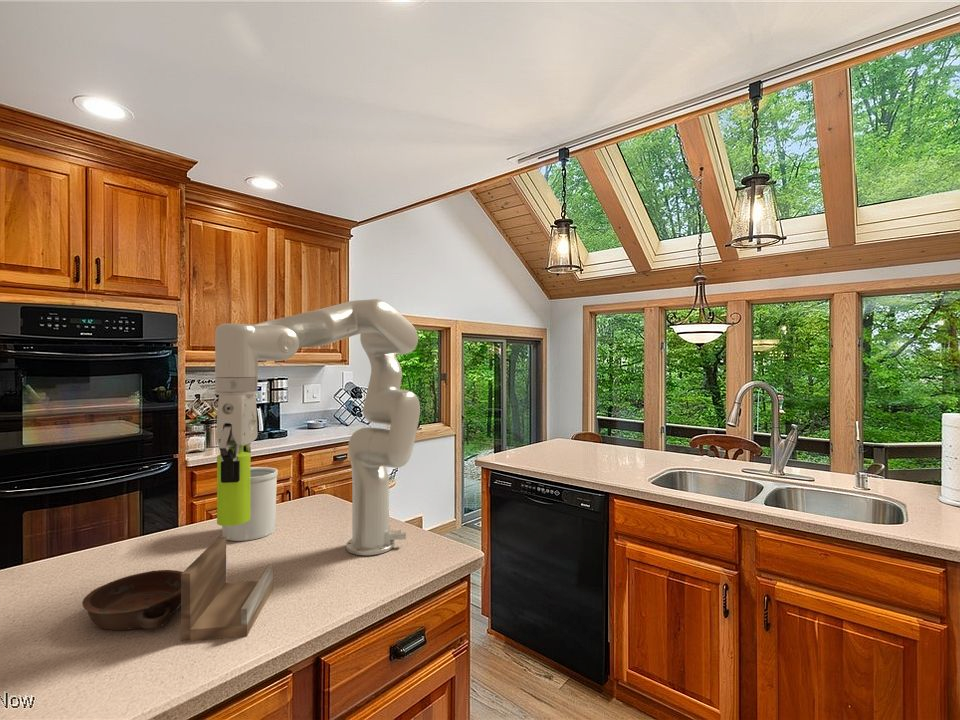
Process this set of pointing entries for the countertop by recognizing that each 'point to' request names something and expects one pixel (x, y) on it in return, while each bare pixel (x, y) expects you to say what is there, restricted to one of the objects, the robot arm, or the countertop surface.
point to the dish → (135, 600)
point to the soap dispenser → (234, 492)
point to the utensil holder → (257, 507)
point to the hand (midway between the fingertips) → (236, 477)
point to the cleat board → (219, 598)
